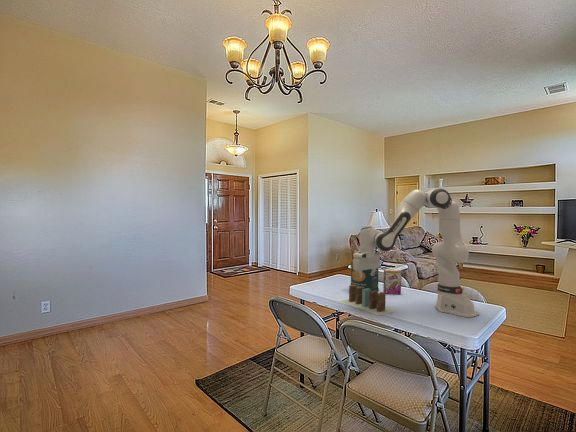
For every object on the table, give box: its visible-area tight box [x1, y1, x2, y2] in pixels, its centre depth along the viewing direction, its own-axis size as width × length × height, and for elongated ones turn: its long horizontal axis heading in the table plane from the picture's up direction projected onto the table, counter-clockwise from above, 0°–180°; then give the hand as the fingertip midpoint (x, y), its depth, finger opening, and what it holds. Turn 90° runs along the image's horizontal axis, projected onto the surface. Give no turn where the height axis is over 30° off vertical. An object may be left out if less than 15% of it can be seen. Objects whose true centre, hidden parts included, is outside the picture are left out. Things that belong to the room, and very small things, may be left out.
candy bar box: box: [383, 268, 402, 295], centre depth 215 cm, size 11×5×16 cm, turn 84°
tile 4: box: [355, 286, 364, 304], centre depth 189 cm, size 2×5×10 cm, turn 123°
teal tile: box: [362, 288, 371, 307], centre depth 185 cm, size 2×5×10 cm, turn 123°
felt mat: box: [339, 298, 396, 316], centre depth 185 cm, size 31×15×1 cm, turn 33°
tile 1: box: [377, 292, 387, 312], centre depth 176 cm, size 2×5×10 cm, turn 123°
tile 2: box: [369, 290, 379, 309], centre depth 180 cm, size 2×5×10 cm, turn 123°
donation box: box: [350, 251, 380, 293], centre depth 219 cm, size 16×16×28 cm
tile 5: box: [348, 284, 357, 302], centre depth 194 cm, size 2×5×10 cm, turn 123°
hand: (367, 276), depth 185 cm, fingers open, 8 cm apart
